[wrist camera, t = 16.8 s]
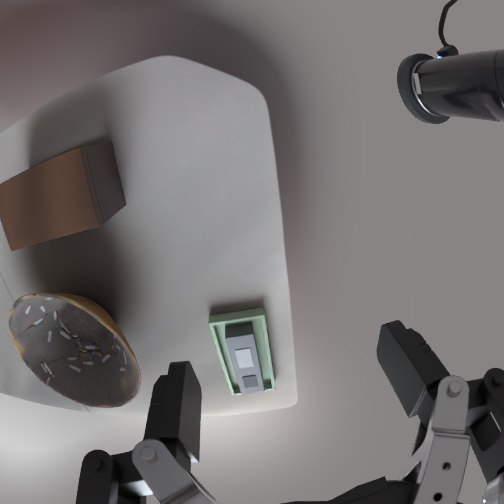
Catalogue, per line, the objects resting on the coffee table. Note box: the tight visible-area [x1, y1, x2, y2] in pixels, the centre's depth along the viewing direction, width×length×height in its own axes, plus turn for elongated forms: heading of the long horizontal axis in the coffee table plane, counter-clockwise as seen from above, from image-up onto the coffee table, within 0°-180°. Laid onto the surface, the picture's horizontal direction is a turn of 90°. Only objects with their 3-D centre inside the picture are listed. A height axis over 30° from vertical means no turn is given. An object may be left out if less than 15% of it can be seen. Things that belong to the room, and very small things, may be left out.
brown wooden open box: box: [0, 142, 126, 251], centre depth 29 cm, size 16×9×9 cm, turn 98°
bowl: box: [9, 292, 141, 408], centre depth 38 cm, size 25×25×10 cm
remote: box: [225, 322, 265, 394], centre depth 45 cm, size 15×4×3 cm, turn 8°
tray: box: [209, 307, 275, 396], centre depth 46 cm, size 19×9×2 cm, turn 8°
